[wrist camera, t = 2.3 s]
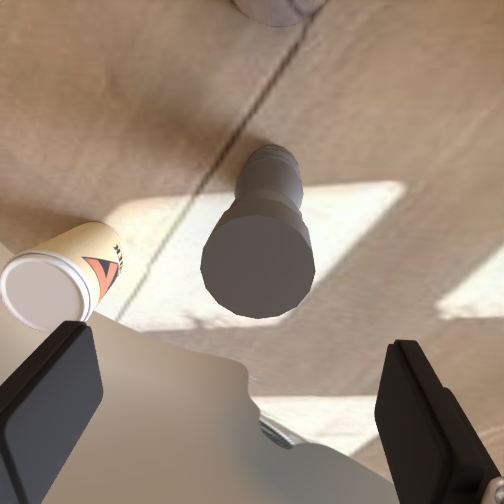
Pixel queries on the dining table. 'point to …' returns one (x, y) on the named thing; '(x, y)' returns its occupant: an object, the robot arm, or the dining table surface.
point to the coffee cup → (63, 276)
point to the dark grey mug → (278, 11)
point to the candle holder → (261, 241)
